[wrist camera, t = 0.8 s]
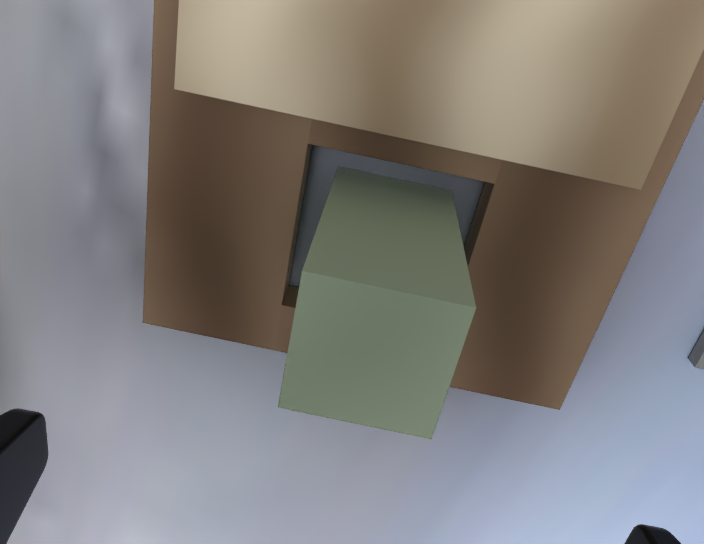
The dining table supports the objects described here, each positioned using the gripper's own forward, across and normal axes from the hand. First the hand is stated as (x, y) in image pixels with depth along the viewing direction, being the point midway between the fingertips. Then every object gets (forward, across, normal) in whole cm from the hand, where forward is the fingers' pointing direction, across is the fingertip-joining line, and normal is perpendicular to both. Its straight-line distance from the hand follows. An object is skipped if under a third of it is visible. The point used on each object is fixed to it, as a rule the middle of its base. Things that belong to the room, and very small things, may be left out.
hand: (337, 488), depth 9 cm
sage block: (+13, 0, +1) cm, 13 cm away
